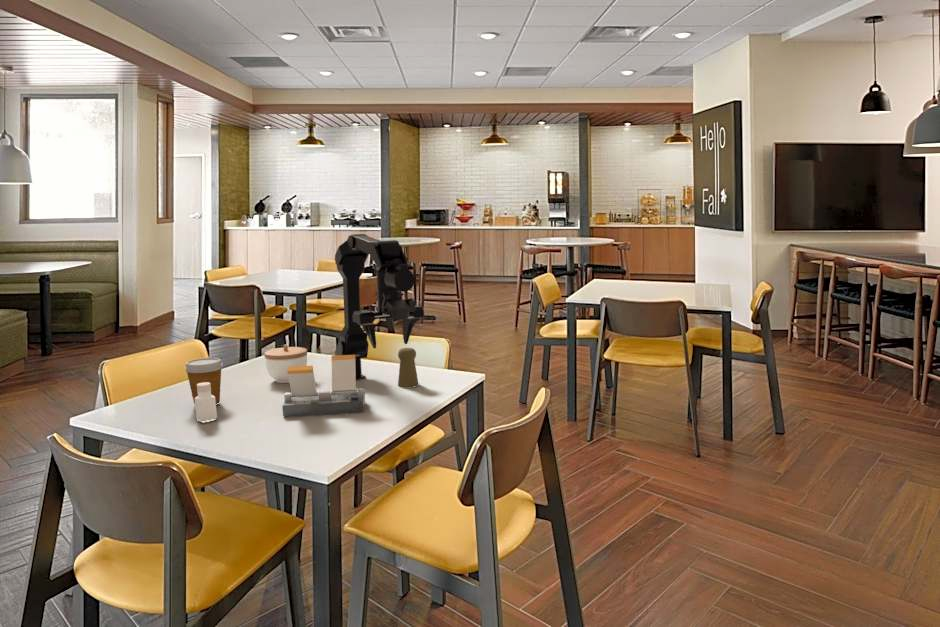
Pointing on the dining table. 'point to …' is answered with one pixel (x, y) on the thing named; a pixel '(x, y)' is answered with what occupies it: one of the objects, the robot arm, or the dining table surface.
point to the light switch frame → (324, 404)
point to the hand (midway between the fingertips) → (390, 346)
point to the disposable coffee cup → (205, 375)
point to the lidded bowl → (284, 361)
